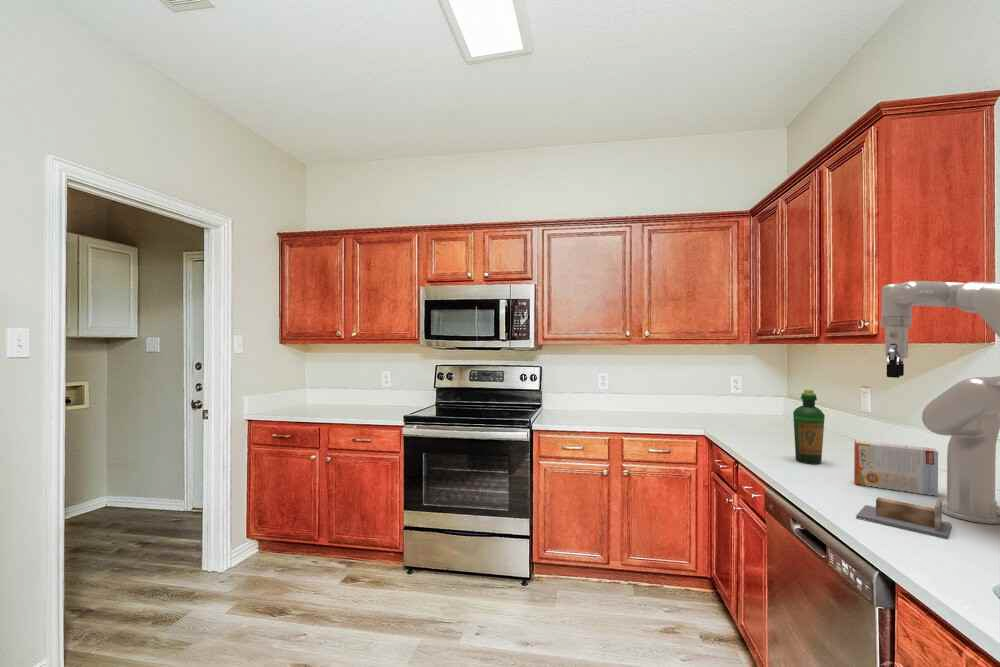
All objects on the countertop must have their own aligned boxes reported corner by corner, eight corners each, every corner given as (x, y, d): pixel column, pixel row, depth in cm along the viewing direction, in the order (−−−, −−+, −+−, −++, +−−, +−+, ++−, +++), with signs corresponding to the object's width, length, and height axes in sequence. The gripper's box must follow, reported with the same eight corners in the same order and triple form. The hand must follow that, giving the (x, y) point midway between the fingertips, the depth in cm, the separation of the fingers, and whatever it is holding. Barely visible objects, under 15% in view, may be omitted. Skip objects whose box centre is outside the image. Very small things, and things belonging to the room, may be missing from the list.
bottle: (809, 466, 184) (810, 392, 184) (785, 459, 194) (786, 389, 195) (831, 464, 187) (832, 391, 187) (806, 457, 197) (807, 388, 198)
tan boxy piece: (874, 517, 129) (874, 494, 129) (879, 509, 135) (879, 488, 135) (938, 531, 120) (938, 506, 120) (941, 523, 126) (942, 499, 126)
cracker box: (853, 480, 166) (935, 492, 154) (854, 484, 161) (938, 497, 149) (854, 439, 166) (936, 448, 154) (855, 442, 161) (939, 451, 149)
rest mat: (951, 526, 126) (951, 522, 126) (947, 538, 117) (947, 535, 118) (865, 507, 139) (865, 505, 139) (856, 518, 130) (856, 515, 130)
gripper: (908, 322, 147) (907, 379, 147) (914, 323, 159) (913, 375, 159) (877, 322, 152) (876, 377, 152) (885, 323, 164) (884, 374, 164)
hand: (895, 376), depth 156 cm, fingers open, 9 cm apart
